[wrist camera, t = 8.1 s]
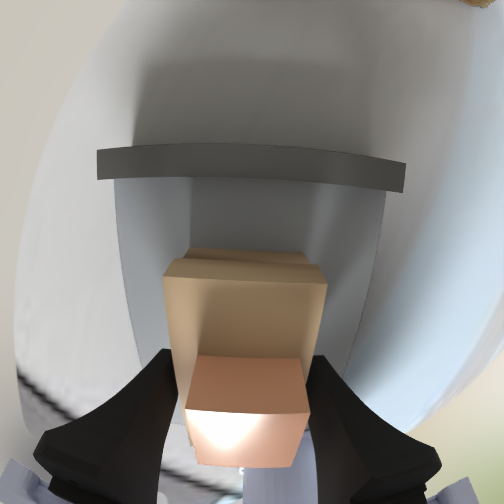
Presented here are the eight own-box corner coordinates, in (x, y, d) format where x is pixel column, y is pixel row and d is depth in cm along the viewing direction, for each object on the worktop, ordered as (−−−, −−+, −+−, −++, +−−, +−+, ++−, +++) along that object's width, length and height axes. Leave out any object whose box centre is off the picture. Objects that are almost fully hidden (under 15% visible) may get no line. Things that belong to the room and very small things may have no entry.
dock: (318, 408, 19) (325, 444, 16) (163, 402, 19) (153, 436, 15) (371, 158, 13) (405, 163, 9) (131, 148, 12) (96, 150, 9)
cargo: (286, 421, 11) (290, 467, 8) (204, 418, 11) (198, 464, 8) (300, 358, 9) (310, 412, 7) (197, 354, 9) (184, 408, 7)
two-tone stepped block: (281, 397, 16) (286, 450, 12) (199, 393, 15) (190, 445, 12) (305, 241, 12) (327, 284, 8) (189, 236, 12) (162, 276, 8)
